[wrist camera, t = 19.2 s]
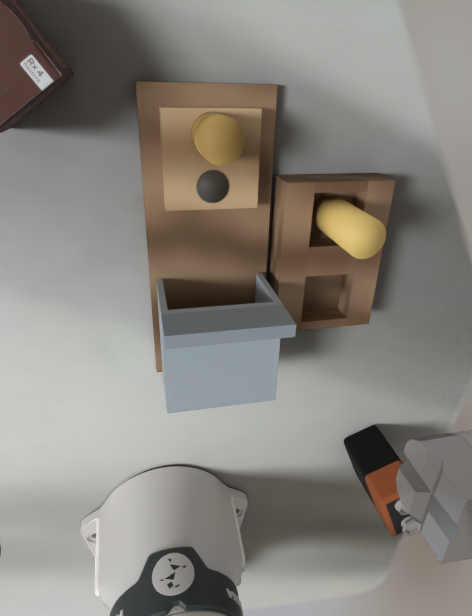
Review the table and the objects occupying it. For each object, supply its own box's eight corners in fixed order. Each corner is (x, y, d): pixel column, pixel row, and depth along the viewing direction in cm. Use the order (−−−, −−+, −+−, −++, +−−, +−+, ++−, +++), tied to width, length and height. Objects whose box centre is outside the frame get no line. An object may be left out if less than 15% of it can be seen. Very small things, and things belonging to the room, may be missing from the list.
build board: (354, 308, 43) (368, 323, 41) (266, 316, 42) (275, 332, 39) (377, 173, 37) (395, 180, 35) (275, 174, 36) (286, 182, 33)
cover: (257, 359, 42) (286, 424, 34) (162, 369, 40) (170, 440, 33) (261, 273, 38) (296, 324, 30) (156, 280, 36) (164, 336, 28)
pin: (339, 230, 38) (379, 260, 32) (306, 227, 37) (341, 257, 31) (347, 195, 37) (391, 219, 31) (314, 192, 36) (352, 216, 30)
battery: (354, 472, 55) (396, 546, 46) (341, 438, 52) (384, 511, 43) (386, 457, 55) (434, 528, 46) (375, 422, 52) (424, 492, 43)
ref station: (258, 356, 44) (275, 393, 39) (156, 367, 42) (160, 407, 37) (274, 84, 32) (300, 86, 27) (135, 81, 30) (136, 82, 25)
